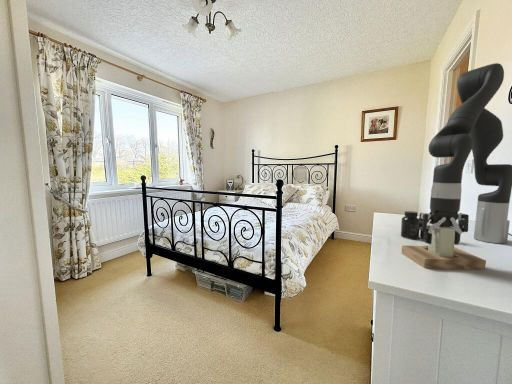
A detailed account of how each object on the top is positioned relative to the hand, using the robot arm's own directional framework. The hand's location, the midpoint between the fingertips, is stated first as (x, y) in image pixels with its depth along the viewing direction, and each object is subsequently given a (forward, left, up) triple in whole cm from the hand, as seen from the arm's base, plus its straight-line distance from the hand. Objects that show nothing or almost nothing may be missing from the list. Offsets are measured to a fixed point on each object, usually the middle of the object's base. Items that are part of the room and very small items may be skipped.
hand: (441, 243), depth 72 cm
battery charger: (-14, -25, -6) cm, 29 cm away
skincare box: (0, 0, -6) cm, 6 cm away
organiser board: (0, 0, -6) cm, 6 cm away
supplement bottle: (-6, -26, -6) cm, 27 cm away
